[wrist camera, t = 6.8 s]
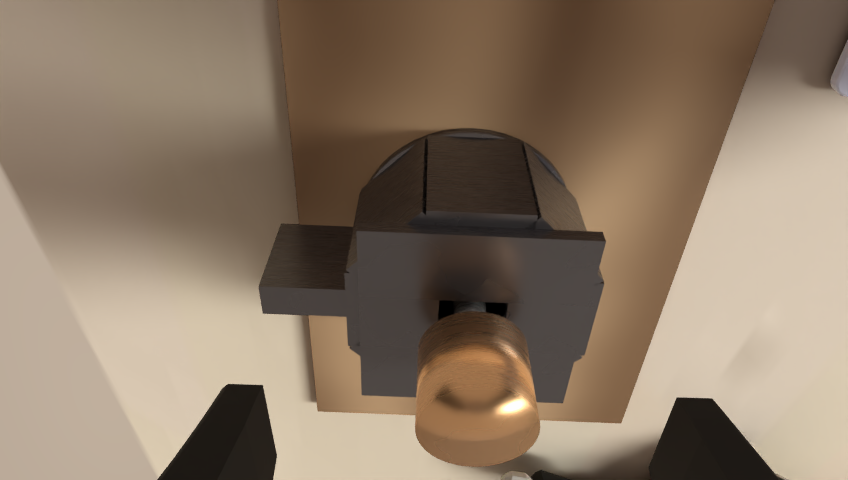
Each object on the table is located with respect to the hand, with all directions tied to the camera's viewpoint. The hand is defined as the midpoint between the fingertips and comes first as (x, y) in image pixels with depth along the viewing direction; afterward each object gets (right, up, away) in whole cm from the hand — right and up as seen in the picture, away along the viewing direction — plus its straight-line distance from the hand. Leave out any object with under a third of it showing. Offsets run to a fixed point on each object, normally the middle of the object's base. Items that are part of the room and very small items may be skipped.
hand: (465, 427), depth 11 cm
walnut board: (+2, +3, +10) cm, 11 cm away
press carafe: (-1, +4, +9) cm, 10 cm away
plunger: (+1, +3, +9) cm, 9 cm away
